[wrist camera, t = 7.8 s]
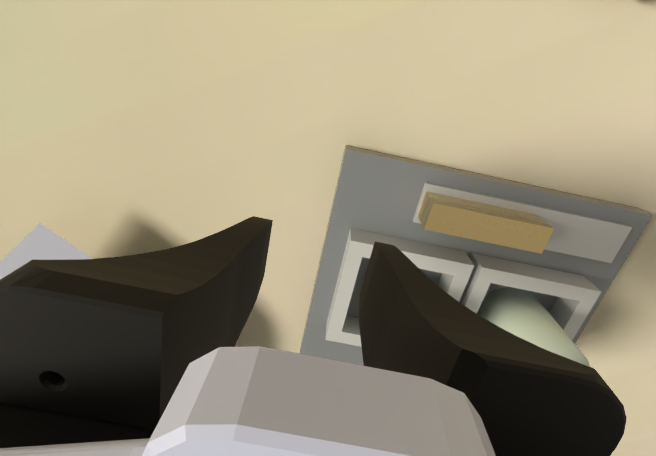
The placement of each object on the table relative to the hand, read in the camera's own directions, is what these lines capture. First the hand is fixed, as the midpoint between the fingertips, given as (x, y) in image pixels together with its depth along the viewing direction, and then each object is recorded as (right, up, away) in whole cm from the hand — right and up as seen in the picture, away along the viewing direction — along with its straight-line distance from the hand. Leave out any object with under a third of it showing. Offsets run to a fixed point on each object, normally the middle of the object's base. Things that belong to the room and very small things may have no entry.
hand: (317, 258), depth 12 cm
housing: (+8, -3, +11) cm, 14 cm away
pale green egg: (+11, -4, +10) cm, 16 cm away
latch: (+8, +2, +8) cm, 11 cm away
